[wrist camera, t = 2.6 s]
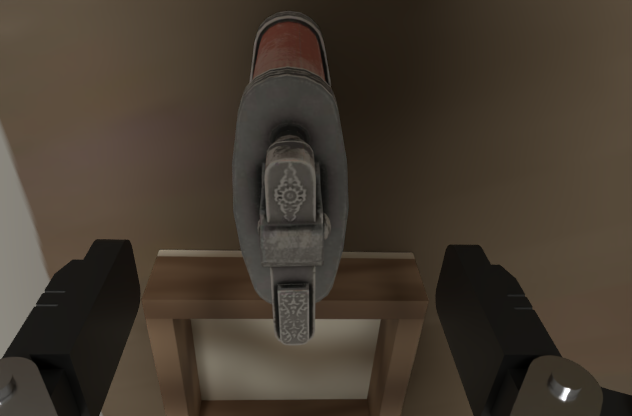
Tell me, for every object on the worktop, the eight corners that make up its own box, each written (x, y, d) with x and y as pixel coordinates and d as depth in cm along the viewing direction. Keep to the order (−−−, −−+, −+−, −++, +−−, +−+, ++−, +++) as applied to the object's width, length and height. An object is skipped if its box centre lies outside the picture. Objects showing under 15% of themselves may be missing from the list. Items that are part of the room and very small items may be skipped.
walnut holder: (159, 249, 24) (141, 299, 21) (412, 252, 25) (428, 300, 22) (185, 404, 31) (174, 458, 28) (381, 403, 32) (390, 454, 29)
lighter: (243, 10, 18) (202, 117, 10) (333, 10, 18) (369, 115, 10) (257, 193, 22) (237, 372, 14) (329, 191, 23) (351, 368, 14)
